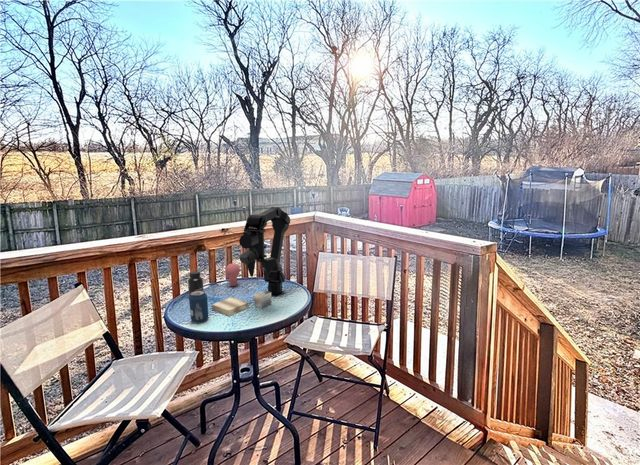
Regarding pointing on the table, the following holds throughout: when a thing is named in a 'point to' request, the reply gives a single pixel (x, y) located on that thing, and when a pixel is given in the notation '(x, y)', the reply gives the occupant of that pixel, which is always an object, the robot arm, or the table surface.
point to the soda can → (198, 306)
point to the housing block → (262, 299)
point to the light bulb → (232, 273)
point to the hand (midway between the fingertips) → (258, 278)
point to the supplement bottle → (195, 282)
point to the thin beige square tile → (230, 306)
